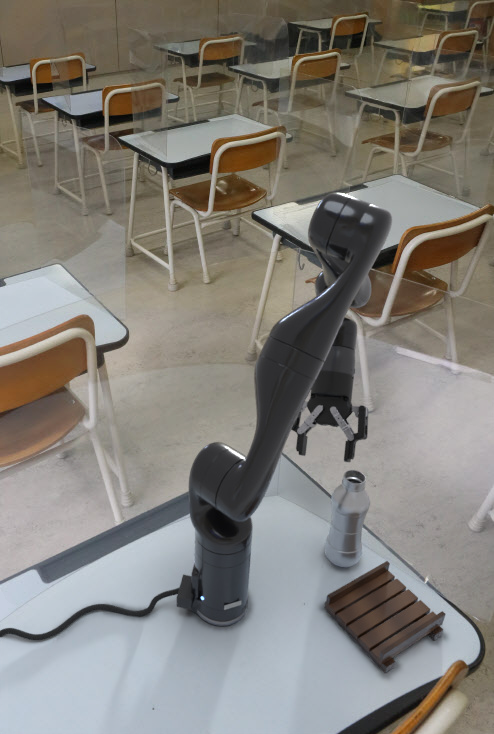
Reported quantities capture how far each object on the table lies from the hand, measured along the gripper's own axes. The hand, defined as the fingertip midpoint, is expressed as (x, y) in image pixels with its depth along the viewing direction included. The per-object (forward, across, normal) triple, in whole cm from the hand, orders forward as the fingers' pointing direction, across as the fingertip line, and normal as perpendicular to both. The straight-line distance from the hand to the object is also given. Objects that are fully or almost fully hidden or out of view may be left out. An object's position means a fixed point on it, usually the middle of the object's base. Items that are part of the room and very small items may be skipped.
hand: (324, 458), depth 127 cm
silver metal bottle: (+18, +3, +6) cm, 19 cm away
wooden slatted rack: (+26, +13, 0) cm, 29 cm away
